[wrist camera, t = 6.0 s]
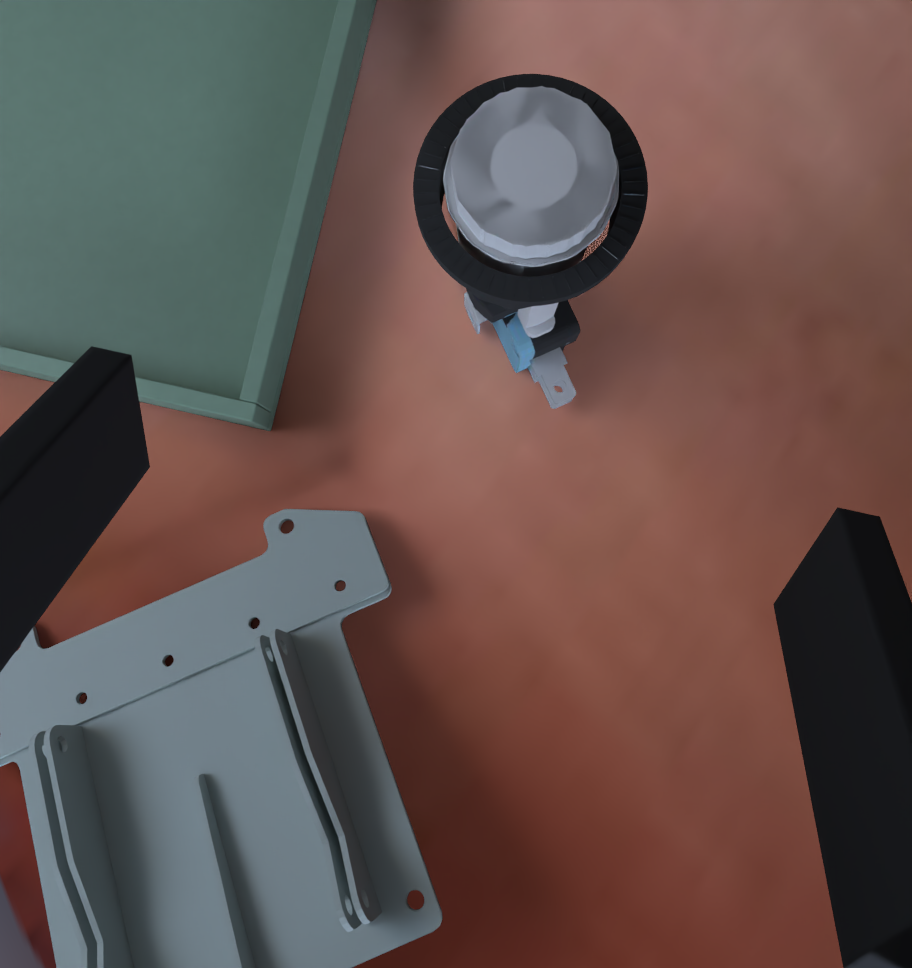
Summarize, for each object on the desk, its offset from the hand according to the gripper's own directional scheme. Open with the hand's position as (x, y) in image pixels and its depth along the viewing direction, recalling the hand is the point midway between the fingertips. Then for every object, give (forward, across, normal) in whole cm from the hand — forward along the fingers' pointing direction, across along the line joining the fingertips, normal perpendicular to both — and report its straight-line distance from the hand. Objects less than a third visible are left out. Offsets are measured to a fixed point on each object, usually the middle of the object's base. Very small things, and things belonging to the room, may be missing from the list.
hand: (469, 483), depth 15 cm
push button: (+13, 0, -4) cm, 13 cm away
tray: (+16, -15, -1) cm, 22 cm away
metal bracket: (+1, -6, -16) cm, 17 cm away
